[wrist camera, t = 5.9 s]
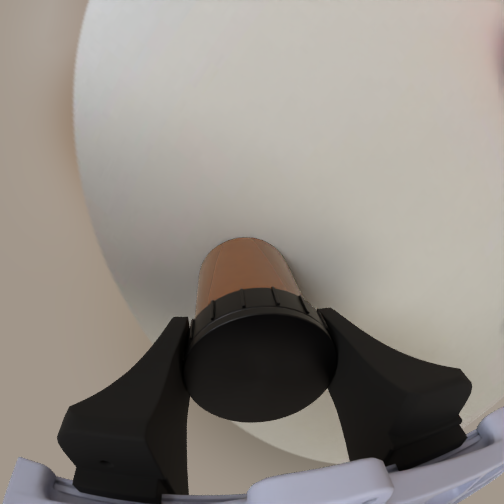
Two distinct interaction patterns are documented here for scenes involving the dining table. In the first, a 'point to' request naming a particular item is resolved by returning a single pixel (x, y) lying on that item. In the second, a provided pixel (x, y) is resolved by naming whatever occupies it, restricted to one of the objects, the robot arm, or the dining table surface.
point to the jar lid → (258, 355)
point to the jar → (242, 270)
